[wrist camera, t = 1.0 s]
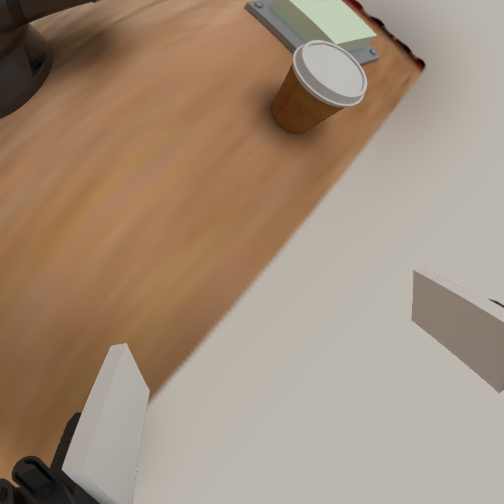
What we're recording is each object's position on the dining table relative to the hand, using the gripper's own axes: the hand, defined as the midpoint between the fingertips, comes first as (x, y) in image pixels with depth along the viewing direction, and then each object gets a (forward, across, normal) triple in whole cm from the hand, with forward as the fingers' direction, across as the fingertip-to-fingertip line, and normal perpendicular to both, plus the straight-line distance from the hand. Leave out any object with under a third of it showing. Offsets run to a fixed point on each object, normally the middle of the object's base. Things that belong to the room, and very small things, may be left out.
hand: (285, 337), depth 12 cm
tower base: (+39, +23, +31) cm, 55 cm away
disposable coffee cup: (+31, +12, +13) cm, 35 cm away
